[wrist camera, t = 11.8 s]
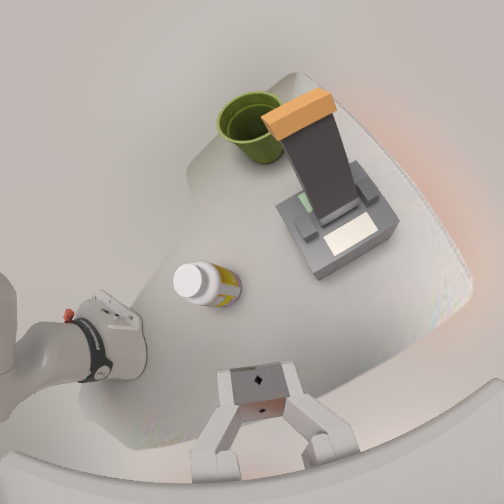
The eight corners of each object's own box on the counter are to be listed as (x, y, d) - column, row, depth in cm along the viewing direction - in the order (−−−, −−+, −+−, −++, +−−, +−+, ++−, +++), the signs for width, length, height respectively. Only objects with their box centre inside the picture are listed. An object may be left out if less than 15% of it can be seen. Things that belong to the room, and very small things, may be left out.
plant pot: (266, 186, 50) (247, 155, 39) (227, 155, 54) (203, 124, 44) (308, 144, 49) (299, 107, 38) (266, 118, 53) (250, 83, 43)
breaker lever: (364, 207, 33) (330, 93, 21) (321, 232, 35) (269, 124, 22) (354, 196, 35) (318, 87, 23) (313, 219, 36) (260, 116, 24)
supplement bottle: (214, 265, 50) (175, 250, 38) (246, 275, 47) (215, 263, 35) (203, 299, 49) (161, 295, 37) (235, 312, 47) (199, 311, 35)
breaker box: (389, 238, 41) (403, 214, 30) (318, 280, 43) (311, 270, 33) (354, 185, 45) (356, 151, 34) (287, 224, 47) (270, 199, 36)
